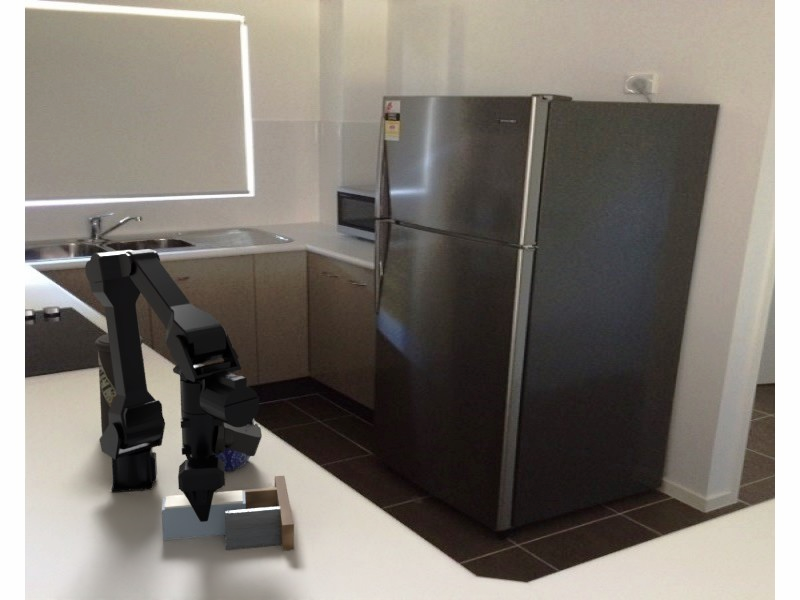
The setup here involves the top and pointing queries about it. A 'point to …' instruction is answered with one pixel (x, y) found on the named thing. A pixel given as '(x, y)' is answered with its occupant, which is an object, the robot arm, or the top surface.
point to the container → (106, 378)
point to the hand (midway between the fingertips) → (204, 505)
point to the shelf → (274, 499)
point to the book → (184, 520)
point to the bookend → (252, 528)
